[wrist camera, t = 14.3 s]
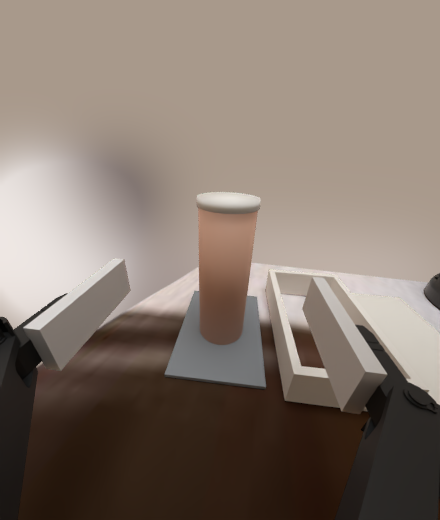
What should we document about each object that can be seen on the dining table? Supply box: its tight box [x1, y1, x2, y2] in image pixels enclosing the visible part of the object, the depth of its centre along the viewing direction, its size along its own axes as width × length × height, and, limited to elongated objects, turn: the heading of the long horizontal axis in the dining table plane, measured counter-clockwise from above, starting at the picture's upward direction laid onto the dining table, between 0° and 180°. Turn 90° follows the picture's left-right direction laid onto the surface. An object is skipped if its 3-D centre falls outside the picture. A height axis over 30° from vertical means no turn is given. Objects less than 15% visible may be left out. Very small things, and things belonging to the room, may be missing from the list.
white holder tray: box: [265, 269, 440, 411], centre depth 24 cm, size 21×18×4 cm
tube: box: [197, 192, 261, 345], centre depth 22 cm, size 6×6×16 cm
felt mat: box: [165, 291, 266, 389], centre depth 26 cm, size 10×14×1 cm
